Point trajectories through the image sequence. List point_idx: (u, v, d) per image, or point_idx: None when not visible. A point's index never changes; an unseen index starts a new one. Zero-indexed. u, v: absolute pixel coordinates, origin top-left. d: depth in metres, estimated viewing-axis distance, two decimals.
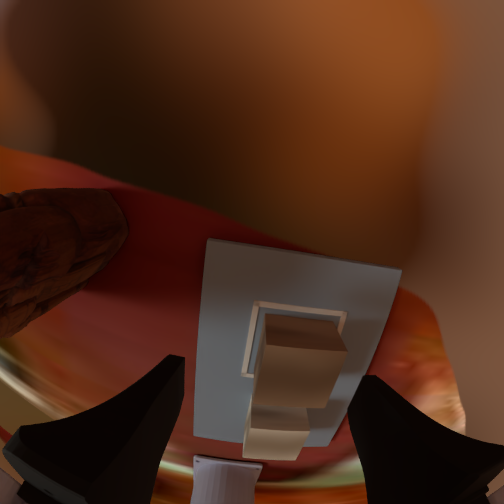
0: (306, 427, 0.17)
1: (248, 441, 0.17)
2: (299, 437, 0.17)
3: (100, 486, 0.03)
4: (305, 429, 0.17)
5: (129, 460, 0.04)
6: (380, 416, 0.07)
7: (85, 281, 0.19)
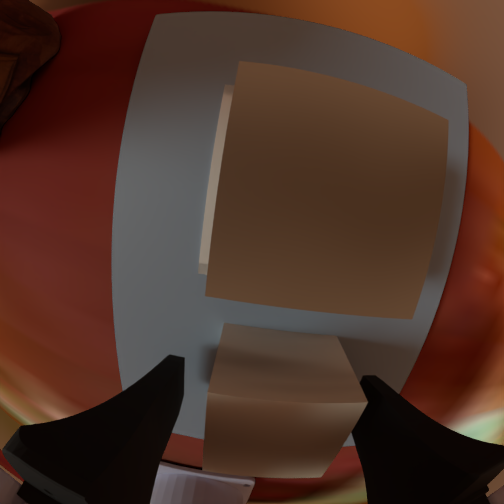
0: (356, 393, 0.07)
1: (208, 433, 0.07)
2: (339, 422, 0.07)
3: (100, 486, 0.03)
4: (355, 398, 0.07)
5: (129, 460, 0.04)
6: (380, 416, 0.07)
7: None
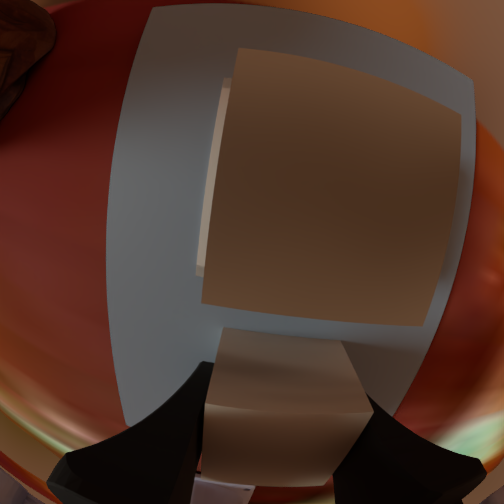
0: (362, 402, 0.06)
1: (206, 443, 0.06)
2: (343, 432, 0.06)
3: None
4: (361, 407, 0.06)
5: (184, 475, 0.04)
6: None
7: None
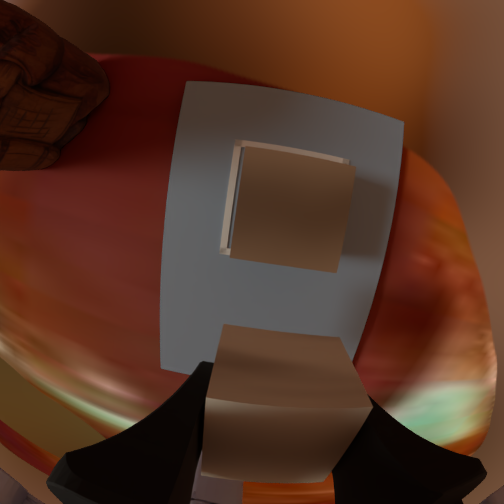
0: (361, 398, 0.06)
1: (207, 438, 0.06)
2: (342, 427, 0.06)
3: None
4: (360, 402, 0.06)
5: (183, 475, 0.04)
6: None
7: (56, 151, 0.15)
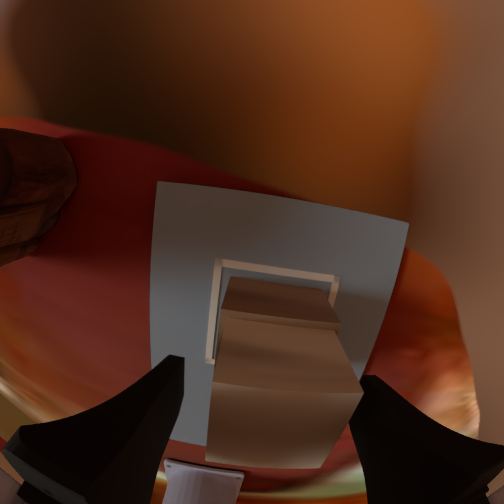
0: (353, 384, 0.07)
1: (212, 422, 0.07)
2: (336, 411, 0.07)
3: (100, 486, 0.03)
4: (352, 388, 0.07)
5: (129, 460, 0.04)
6: (380, 416, 0.07)
7: (34, 243, 0.14)
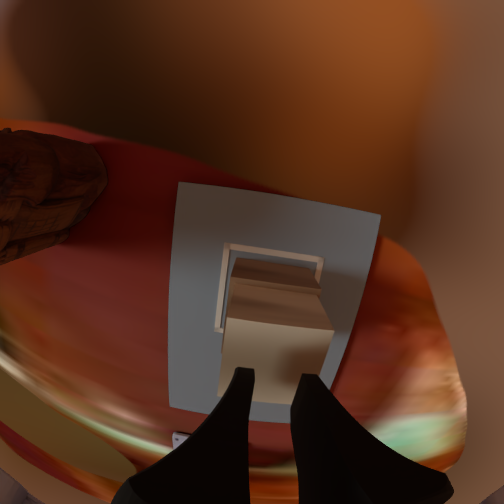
0: (326, 325, 0.11)
1: (224, 354, 0.11)
2: (315, 346, 0.11)
3: None
4: (325, 327, 0.11)
5: None
6: (311, 419, 0.07)
7: (65, 233, 0.18)
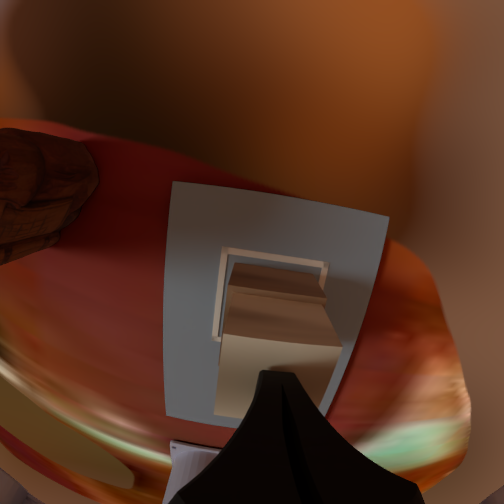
0: (334, 341, 0.10)
1: (221, 372, 0.10)
2: (321, 364, 0.10)
3: None
4: (333, 343, 0.10)
5: None
6: (283, 418, 0.07)
7: (56, 235, 0.17)
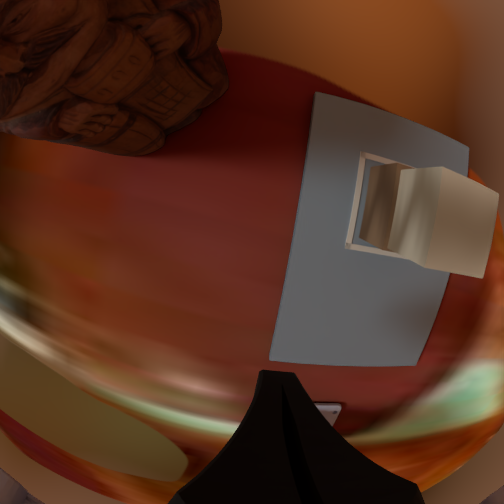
0: None
1: (439, 208, 0.10)
2: (490, 207, 0.09)
3: None
4: (493, 191, 0.09)
5: None
6: (283, 418, 0.07)
7: (164, 138, 0.17)
